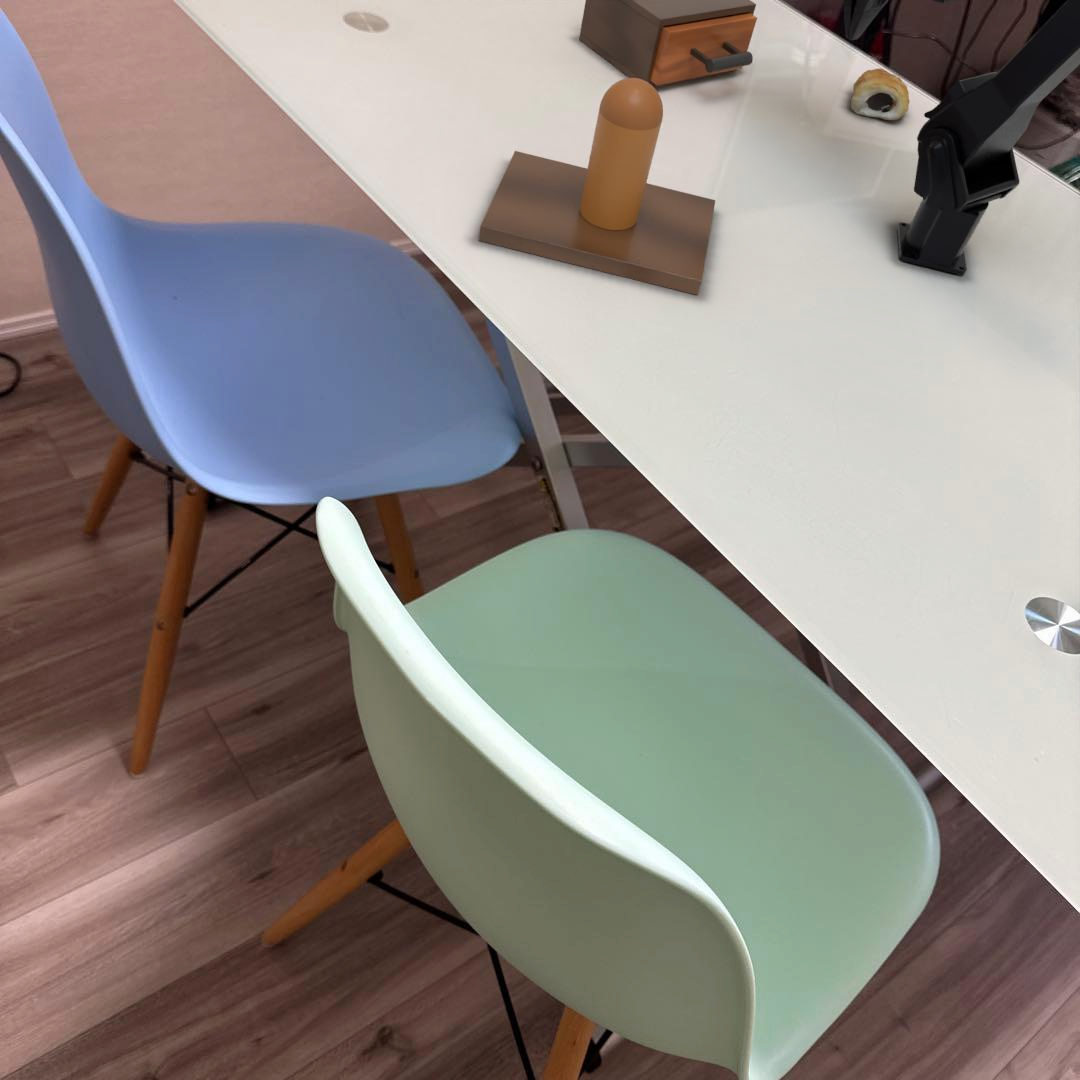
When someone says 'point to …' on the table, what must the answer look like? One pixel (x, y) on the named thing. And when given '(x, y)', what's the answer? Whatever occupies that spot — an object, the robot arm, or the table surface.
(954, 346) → the table surface
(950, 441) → the table surface
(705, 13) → the cabinet
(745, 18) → the drawer
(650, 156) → the dome-topped orange cylinder
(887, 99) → the pastry
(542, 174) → the board
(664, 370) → the table surface
